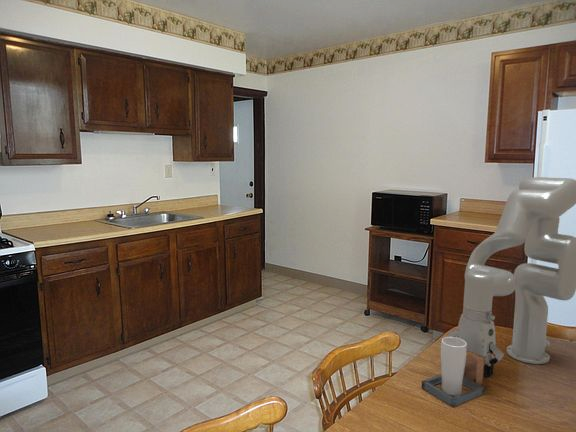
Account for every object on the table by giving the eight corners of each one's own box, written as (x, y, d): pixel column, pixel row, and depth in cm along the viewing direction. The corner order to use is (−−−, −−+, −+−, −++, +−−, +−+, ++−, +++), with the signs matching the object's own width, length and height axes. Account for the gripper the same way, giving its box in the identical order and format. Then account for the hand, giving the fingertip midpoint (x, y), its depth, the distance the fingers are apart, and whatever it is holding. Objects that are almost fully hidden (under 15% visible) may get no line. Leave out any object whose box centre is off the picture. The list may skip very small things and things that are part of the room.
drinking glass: (466, 399, 114) (469, 347, 112) (440, 396, 115) (443, 345, 113) (461, 386, 120) (464, 337, 118) (437, 383, 122) (439, 335, 120)
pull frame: (460, 372, 128) (461, 348, 127) (493, 389, 118) (495, 363, 117) (421, 387, 120) (422, 361, 119) (453, 407, 110) (454, 379, 109)
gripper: (513, 321, 114) (508, 379, 116) (460, 303, 129) (456, 355, 131) (496, 326, 110) (491, 386, 112) (443, 306, 125) (440, 360, 127)
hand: (472, 369), depth 122 cm, fingers open, 9 cm apart
